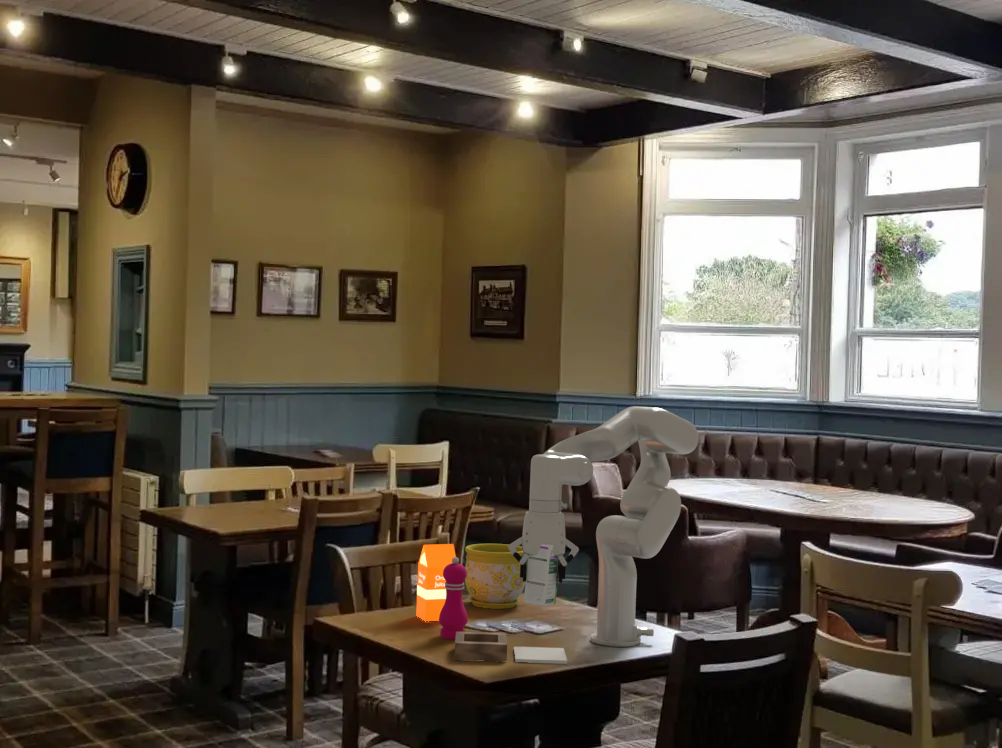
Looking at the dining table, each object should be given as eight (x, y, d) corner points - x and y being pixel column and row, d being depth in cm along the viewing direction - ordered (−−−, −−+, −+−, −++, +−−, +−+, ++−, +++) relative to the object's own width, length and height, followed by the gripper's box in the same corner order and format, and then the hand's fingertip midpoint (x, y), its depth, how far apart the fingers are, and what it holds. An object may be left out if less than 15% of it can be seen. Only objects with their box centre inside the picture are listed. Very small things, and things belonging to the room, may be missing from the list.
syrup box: (544, 607, 261) (551, 544, 261) (522, 602, 264) (529, 540, 264) (555, 604, 266) (562, 543, 266) (533, 600, 269) (540, 539, 269)
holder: (505, 649, 271) (506, 633, 271) (506, 662, 259) (507, 644, 259) (455, 648, 271) (456, 631, 271) (454, 660, 259) (455, 643, 259)
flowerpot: (506, 614, 313) (508, 554, 313) (451, 605, 321) (453, 548, 321) (536, 603, 328) (538, 547, 328) (482, 596, 337) (484, 541, 337)
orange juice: (415, 616, 305) (418, 542, 306) (446, 614, 309) (449, 541, 309) (425, 622, 298) (427, 546, 298) (456, 620, 302) (459, 546, 302)
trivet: (563, 651, 271) (563, 648, 271) (567, 664, 259) (567, 660, 259) (513, 649, 271) (513, 646, 271) (515, 662, 259) (515, 658, 259)
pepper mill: (463, 641, 278) (466, 560, 278) (435, 638, 280) (437, 558, 280) (469, 634, 285) (472, 555, 286) (442, 632, 287) (445, 554, 287)
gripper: (580, 506, 269) (577, 580, 269) (507, 504, 269) (505, 577, 269) (583, 510, 262) (580, 585, 261) (508, 507, 261) (505, 583, 261)
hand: (542, 581), depth 265 cm, fingers closed on syrup box, 8 cm apart
